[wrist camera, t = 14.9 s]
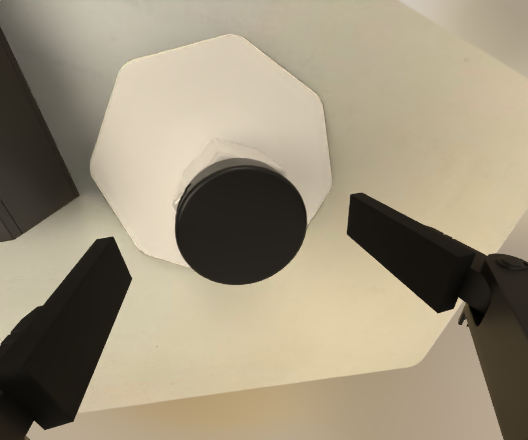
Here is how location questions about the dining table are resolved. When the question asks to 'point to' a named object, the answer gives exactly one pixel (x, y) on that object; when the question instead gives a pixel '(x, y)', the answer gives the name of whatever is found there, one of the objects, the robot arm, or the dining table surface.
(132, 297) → the dining table surface
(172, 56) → the plate
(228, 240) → the jar
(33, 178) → the dark grey box
